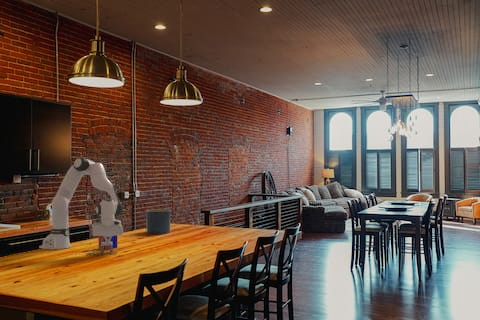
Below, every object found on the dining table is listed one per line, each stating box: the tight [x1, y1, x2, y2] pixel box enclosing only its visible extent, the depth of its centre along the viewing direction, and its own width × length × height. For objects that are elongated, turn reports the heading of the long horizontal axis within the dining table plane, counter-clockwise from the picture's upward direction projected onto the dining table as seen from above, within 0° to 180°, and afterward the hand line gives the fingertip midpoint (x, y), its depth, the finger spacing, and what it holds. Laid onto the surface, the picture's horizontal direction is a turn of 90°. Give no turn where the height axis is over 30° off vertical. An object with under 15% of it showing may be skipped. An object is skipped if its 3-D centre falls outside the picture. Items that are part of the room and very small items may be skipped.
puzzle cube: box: [98, 235, 118, 251], centre depth 325 cm, size 10×10×10 cm
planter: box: [145, 208, 172, 235], centre depth 405 cm, size 22×22×20 cm
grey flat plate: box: [85, 251, 118, 257], centre depth 304 cm, size 20×12×1 cm, turn 102°
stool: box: [100, 242, 114, 256], centre depth 305 cm, size 7×7×7 cm
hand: (107, 242), depth 305 cm, fingers closed
